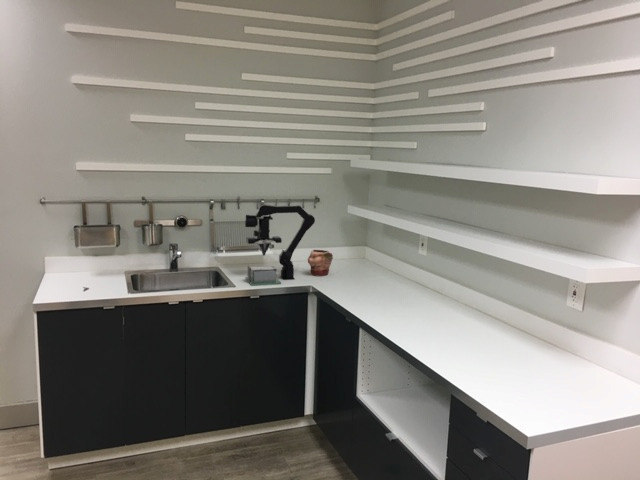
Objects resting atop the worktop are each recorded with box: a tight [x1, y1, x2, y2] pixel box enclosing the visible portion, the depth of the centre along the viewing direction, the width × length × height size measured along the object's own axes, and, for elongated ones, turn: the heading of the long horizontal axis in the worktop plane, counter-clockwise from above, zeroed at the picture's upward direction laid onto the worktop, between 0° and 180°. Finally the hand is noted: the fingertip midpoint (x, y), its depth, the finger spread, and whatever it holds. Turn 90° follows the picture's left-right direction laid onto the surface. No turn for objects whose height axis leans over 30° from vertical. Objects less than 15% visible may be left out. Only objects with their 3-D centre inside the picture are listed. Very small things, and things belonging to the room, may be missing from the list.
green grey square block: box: [245, 265, 282, 287], centre depth 281 cm, size 16×16×8 cm
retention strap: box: [249, 266, 276, 270], centre depth 280 cm, size 13×4×1 cm, turn 110°
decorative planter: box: [307, 249, 334, 277], centre depth 302 cm, size 20×12×14 cm, turn 144°
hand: (263, 255), depth 287 cm, fingers closed
